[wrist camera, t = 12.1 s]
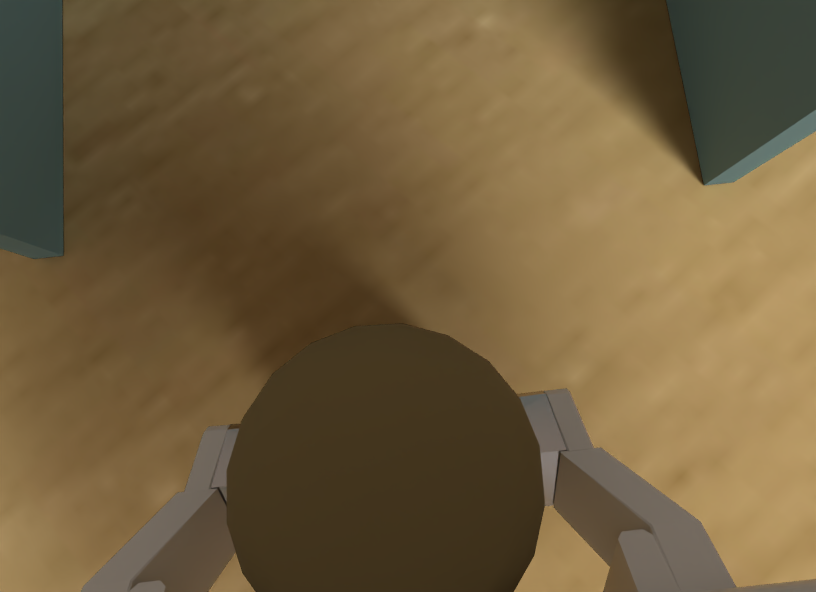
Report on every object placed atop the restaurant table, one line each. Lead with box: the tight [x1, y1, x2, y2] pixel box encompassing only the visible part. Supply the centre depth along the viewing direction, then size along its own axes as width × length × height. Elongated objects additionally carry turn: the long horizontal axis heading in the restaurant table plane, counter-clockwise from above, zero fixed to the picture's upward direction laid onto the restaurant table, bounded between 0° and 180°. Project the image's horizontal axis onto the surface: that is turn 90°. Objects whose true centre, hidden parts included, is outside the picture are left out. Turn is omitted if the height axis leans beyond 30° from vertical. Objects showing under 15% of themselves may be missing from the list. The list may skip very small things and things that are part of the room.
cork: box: [226, 324, 545, 592], centre depth 13 cm, size 6×6×11 cm
